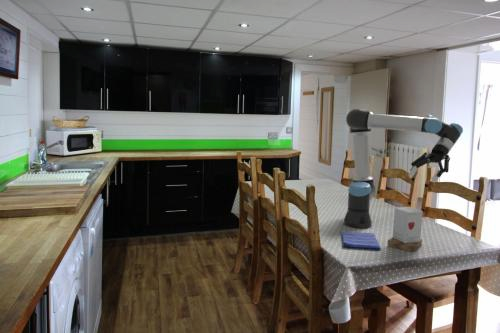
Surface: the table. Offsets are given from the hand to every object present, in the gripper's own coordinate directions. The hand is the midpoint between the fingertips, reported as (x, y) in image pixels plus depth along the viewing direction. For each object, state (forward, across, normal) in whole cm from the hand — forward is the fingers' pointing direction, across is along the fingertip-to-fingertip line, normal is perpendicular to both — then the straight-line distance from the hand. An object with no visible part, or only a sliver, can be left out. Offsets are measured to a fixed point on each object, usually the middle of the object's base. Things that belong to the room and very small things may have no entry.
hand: (420, 178), depth 195 cm
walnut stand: (+34, -8, -8) cm, 36 cm away
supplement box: (+32, -8, -6) cm, 34 cm away
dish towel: (+45, +7, +2) cm, 46 cm away
